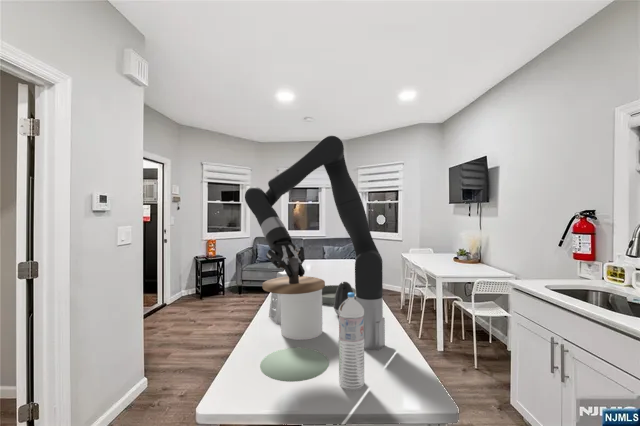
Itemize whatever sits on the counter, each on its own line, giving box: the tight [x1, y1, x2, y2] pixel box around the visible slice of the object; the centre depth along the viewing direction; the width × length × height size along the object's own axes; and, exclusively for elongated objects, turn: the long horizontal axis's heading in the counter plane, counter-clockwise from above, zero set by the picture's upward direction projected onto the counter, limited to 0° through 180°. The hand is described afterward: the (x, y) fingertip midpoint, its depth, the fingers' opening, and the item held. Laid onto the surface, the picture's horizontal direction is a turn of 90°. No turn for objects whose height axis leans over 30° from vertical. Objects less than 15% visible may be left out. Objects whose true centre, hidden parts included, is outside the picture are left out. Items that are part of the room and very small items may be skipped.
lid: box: [261, 258, 326, 294], centre depth 96 cm, size 19×19×8 cm
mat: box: [259, 347, 330, 383], centre depth 96 cm, size 21×21×1 cm
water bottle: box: [338, 292, 365, 392], centre depth 84 cm, size 7×7×25 cm
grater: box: [268, 270, 288, 325], centre depth 138 cm, size 10×10×20 cm
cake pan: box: [322, 284, 356, 305], centre depth 168 cm, size 25×25×4 cm
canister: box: [280, 289, 323, 341], centre depth 121 cm, size 16×16×20 cm
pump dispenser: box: [333, 281, 356, 317], centre depth 140 cm, size 10×10×15 cm
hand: (297, 275), depth 94 cm, fingers closed on lid, 3 cm apart
